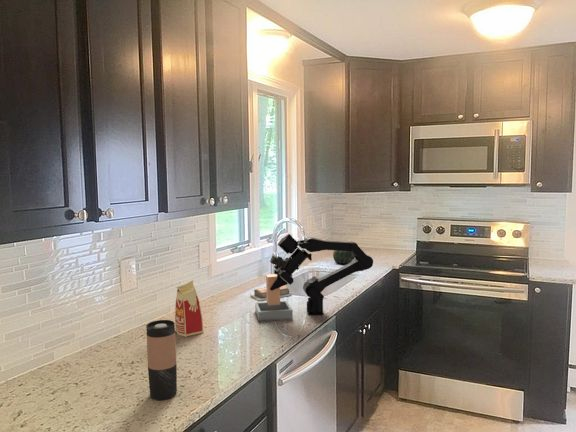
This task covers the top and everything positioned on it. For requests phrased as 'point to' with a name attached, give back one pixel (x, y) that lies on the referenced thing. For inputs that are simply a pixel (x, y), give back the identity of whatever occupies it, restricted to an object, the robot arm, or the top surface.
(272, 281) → the peach block
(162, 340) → the travel mug
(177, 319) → the red food bag
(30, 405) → the top surface
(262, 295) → the packaged product
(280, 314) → the tray
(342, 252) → the squash
